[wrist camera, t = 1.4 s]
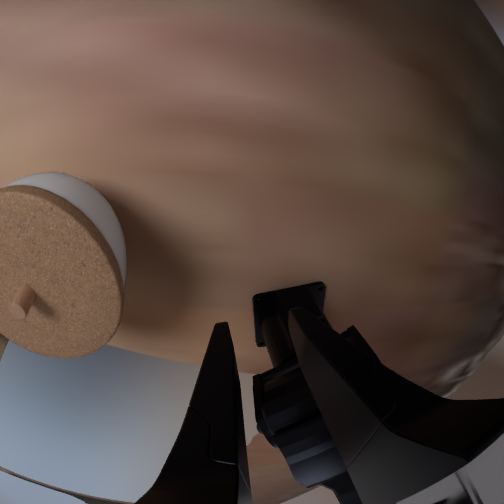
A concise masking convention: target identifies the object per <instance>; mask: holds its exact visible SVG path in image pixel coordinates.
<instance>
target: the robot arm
mask: <svg viewBox="0 0 504 504" xmlns="http://www.w3.org/2000/svg"><path fill="white" fill-rule="evenodd" d="M319 287H320V288H319ZM325 289H326V287H325V285H324V283H323V282H315V283H310V284H305V285H301V286H296V287H291V288H286V289H281V290H276V291H270V292H265V293H260V294H256V295H255V296H253V299H252V301H253V313H254V325H255V337H256V344H257V346H258V347H265V346H266V347H267V349H268V352H269V355H270V358H271V361H272V364H273V367H274V368H273V369H270V370H268V371H266V372H264V373H262V374H257V375H255V376H253V396H254V407H255V418H256V422H257V430H258V431H259V433H262V434H264V436H265V437H266V439H267V440H268V442H269V443H270V444H271V445H272V446H273V447H276V448H278V447H279V449H280V450H281V452H282V454H283V456H284V457H285V459H286V461H287V463H288V465H289V467H290V470H291V472H292V474H293V476H294V478H295V480H296V481H298V482H299V483H301V484H302V485H304V486H305V487H307V488H310V487H313V486H315V485H318V484H319V485H321V486H324V487H326V488H328V489H331V490H332V491H333V492H334V493H335V495H336V497H337V499H338V501H339V502H340V504H504V398H501V399H483V400H451V399H446V398H443V397H440V396H438V395H436V394H434V393H432V392H430V391H428V390H426V389H424V388H422V387H420V386H418V385H417V384H415V383H413V382H411V381H409V380H407V379H405V378H404V377H402V376H400V375H398V374H397V373H395V372H394V371H392V370H391V369H389V368H387V367H386V366H384V365H383V364H382V363H381V362H380V360H379V358H378V357H377V355H376V354H375V353H374V351H373V350H372V349H371V347H370V346H369V345H368V343H367V342H366V341H365V339H364V338H363V337H362V336H361V334H360V333H359V332H358V330H357V329H356V328H355V327H354V325H353V326H351V327H349V328H347V330H346V331H344V332H343V333H341V334H339V333H337V332H336V331H335V330H333V328H332V327H331V325H330V323H329V322H328V320H327V318H326V316H325V315H324V313H323V306H324V297H325ZM258 299H260V300H259V301H257V300H258ZM134 504H252V496H251V487H250V478H249V469H248V459H247V450H246V440H245V431H244V419H243V409H242V398H241V388H240V380H239V375H238V369H237V363H236V358H235V352H234V347H233V342H232V338H231V334H230V329H229V325H228V323H227V322H221V323H216V324H215V326H214V329H213V332H212V335H211V338H210V341H209V344H208V347H207V350H206V353H205V356H204V359H203V363H202V366H201V369H200V372H199V375H198V378H197V381H196V384H195V388H194V391H193V394H192V397H191V400H190V403H189V407H188V409H187V413H186V416H185V419H184V421H183V424H182V427H181V430H180V432H179V435H178V437H177V439H176V441H175V443H174V446H173V448H172V450H171V452H170V454H169V456H168V458H167V460H166V462H165V464H164V466H163V468H162V470H161V473H160V474H159V476H158V478H157V480H156V481H155V483H154V484H153V486H152V487H151V488H150V489H149V490H148V491H147V493H145V494H144V495H143V496H142V497H141V498H140V499H139V500H138V501H137V502H136V503H134Z"/></svg>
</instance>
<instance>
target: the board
mask: <svg viewBox="0 0 504 504" xmlns="http://www.w3.org/2000/svg"><path fill="white" fill-rule="evenodd" d="M8 341H9V339H7V338H6V337H5V336H4V335H2V334H1V333H0V360H1V357H2V355H3V353H4V350H5V348H6V345H7V343H8Z"/></svg>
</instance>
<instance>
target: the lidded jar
mask: <svg viewBox="0 0 504 504" xmlns="http://www.w3.org/2000/svg"><path fill="white" fill-rule="evenodd" d="M126 271H127V255H126V245H125V239H124V235H123V230H122V228H121V225H120V223H119V220H118V218H117V216H116V214H115V212H114V211H113V209H112V207H111V205H110V204H109V203H108V201H107V200H106V199H105V197H104V196H103V195H102V194H101V193H100V192H99V191H98V190H97V189H95V188H94V187H93V186H91V185H90V184H89V183H87V182H85V181H83V180H82V179H80V178H78V177H75V176H72V175H68V174H65V173H60V172H40V173H34V174H30V175H27V176H24V177H21V178H18V179H16V180H14V181H12V182H11V183H9V184H7V185H5V186H4V187H2V188H0V333H1V334H2V335H4V336H5V337H6V338H7V339H9V340H11V341H12V342H14V343H15V344H17V345H19V346H21V347H23V348H25V349H27V350H29V351H32V352H34V353H37V354H41V355H44V356H48V357H56V358H75V357H81V356H84V355H87V354H91V353H93V352H94V351H96V350H98V349H100V348H101V347H103V346H104V345H105V344H106V343H107V342H109V340H110V339H111V338H112V337H113V335H114V334H115V332H116V330H117V328H118V326H119V323H120V319H121V315H122V310H123V303H124V289H125V283H126Z"/></svg>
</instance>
